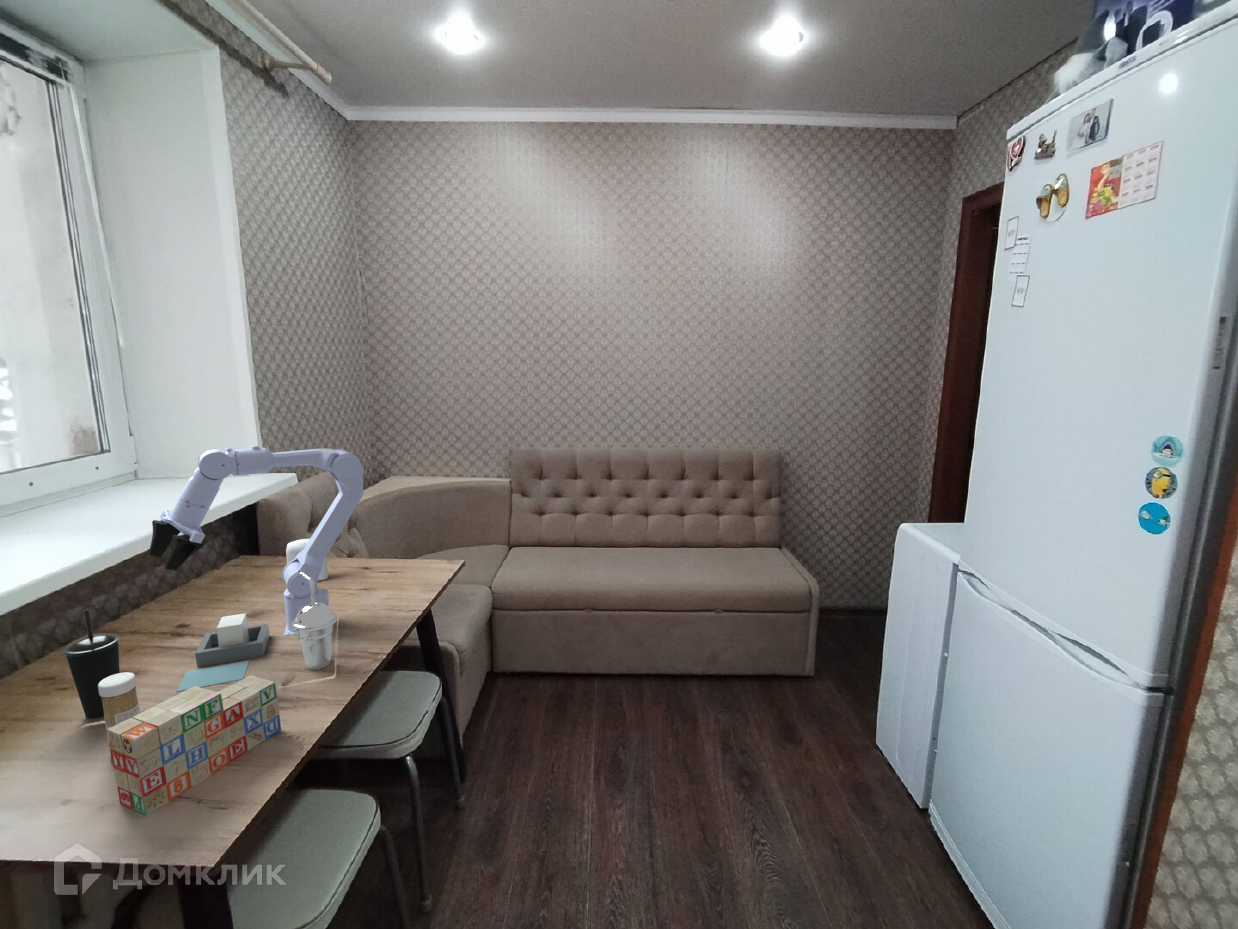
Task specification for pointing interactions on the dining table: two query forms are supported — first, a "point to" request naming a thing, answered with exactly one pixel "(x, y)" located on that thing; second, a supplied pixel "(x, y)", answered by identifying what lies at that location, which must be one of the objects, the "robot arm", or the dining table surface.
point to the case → (232, 647)
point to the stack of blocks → (189, 740)
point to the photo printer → (297, 547)
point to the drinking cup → (92, 666)
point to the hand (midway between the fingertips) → (162, 562)
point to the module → (232, 630)
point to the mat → (213, 675)
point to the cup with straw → (315, 630)
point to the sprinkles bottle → (118, 699)
